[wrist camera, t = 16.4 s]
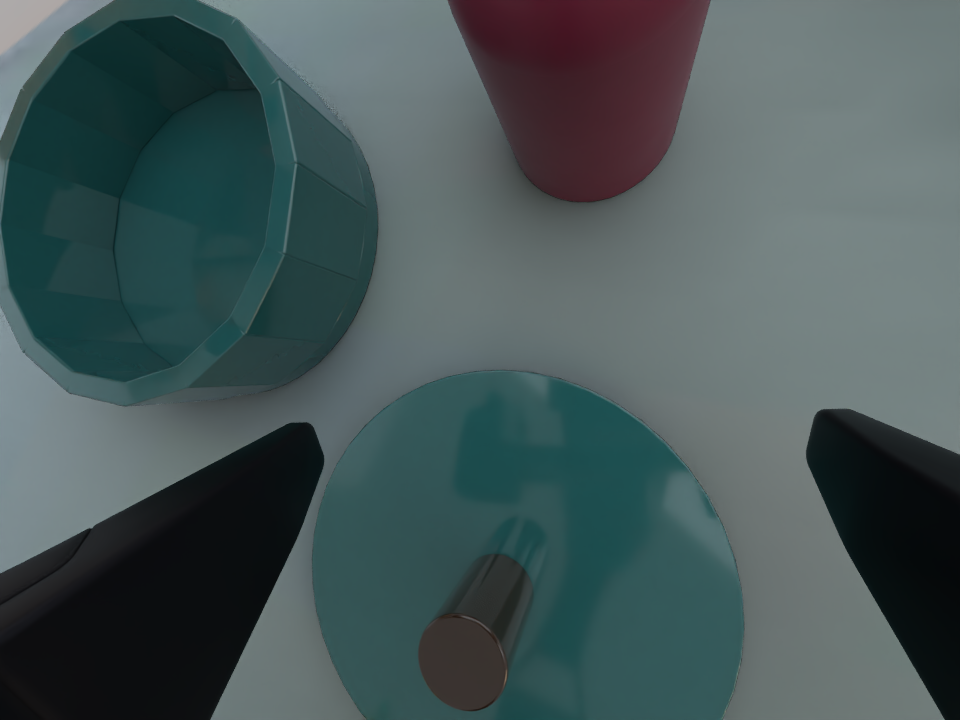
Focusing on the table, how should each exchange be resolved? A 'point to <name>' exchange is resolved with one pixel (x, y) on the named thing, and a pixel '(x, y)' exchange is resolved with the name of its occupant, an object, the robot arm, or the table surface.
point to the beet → (584, 84)
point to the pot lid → (523, 562)
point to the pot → (178, 211)
